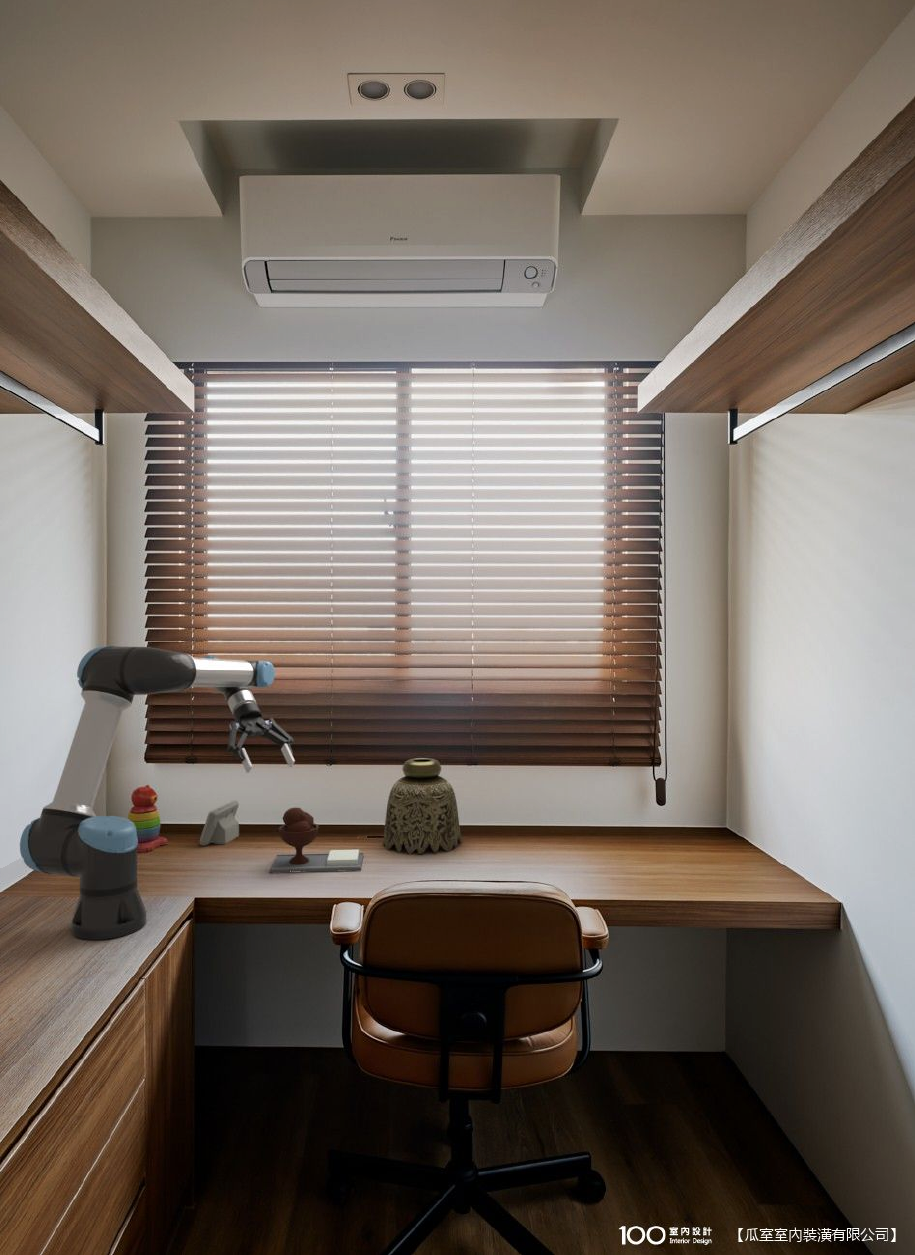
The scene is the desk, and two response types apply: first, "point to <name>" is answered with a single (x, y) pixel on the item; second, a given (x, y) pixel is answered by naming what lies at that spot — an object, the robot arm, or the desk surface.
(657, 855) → the desk surface
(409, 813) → the lamp shade
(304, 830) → the ice cream bowl
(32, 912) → the desk surface
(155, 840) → the stacking bear
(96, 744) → the robot arm
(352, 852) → the pale green flat block
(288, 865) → the tray
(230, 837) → the digital clock
